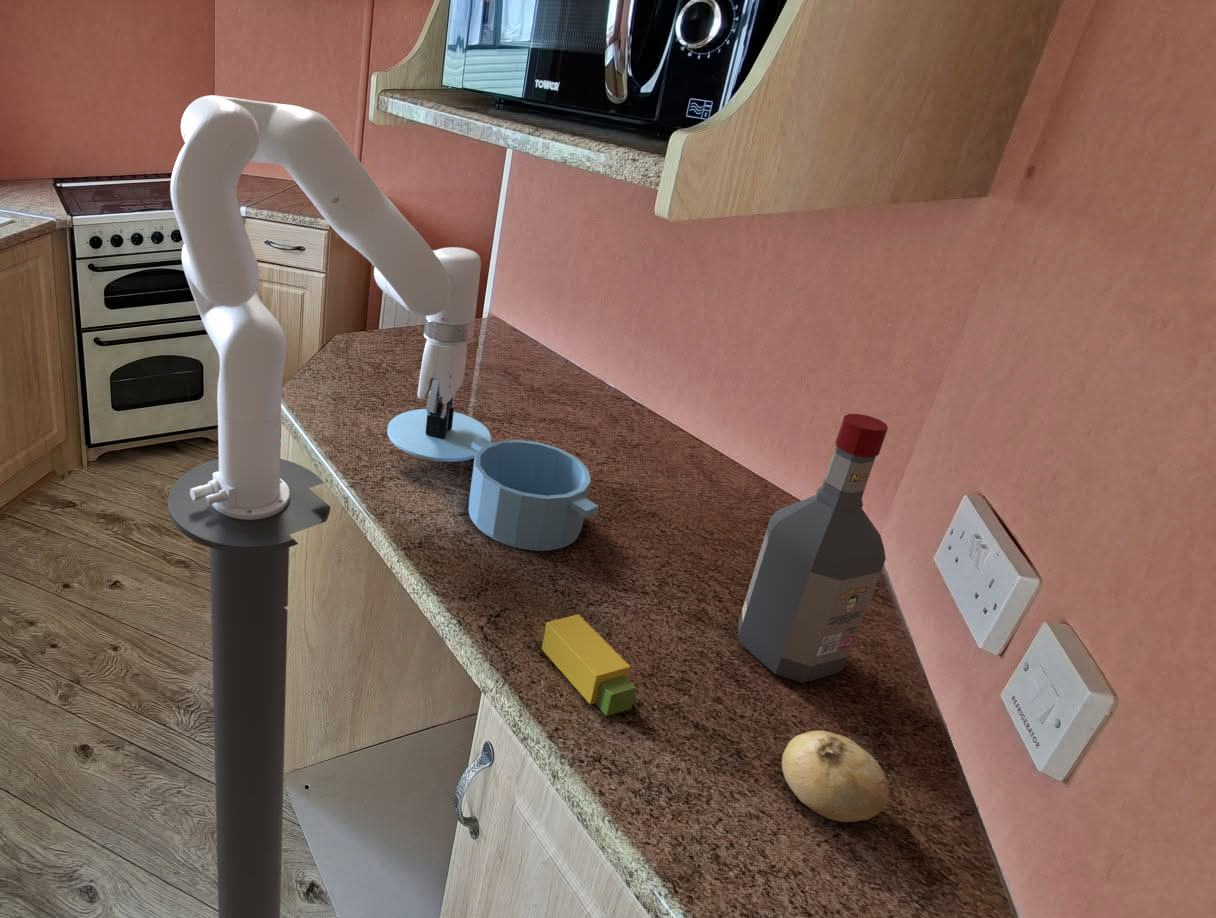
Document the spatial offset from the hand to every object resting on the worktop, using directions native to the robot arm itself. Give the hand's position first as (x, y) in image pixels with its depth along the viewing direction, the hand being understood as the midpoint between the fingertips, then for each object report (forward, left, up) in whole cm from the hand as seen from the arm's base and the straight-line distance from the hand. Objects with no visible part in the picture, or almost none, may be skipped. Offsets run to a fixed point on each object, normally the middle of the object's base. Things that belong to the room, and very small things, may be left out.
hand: (438, 431), depth 130 cm
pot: (-1, -20, -4) cm, 20 cm away
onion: (-11, -66, -5) cm, 67 cm away
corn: (-18, -44, -4) cm, 48 cm away
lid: (0, 0, -1) cm, 1 cm away
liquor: (+5, -54, -5) cm, 54 cm away
